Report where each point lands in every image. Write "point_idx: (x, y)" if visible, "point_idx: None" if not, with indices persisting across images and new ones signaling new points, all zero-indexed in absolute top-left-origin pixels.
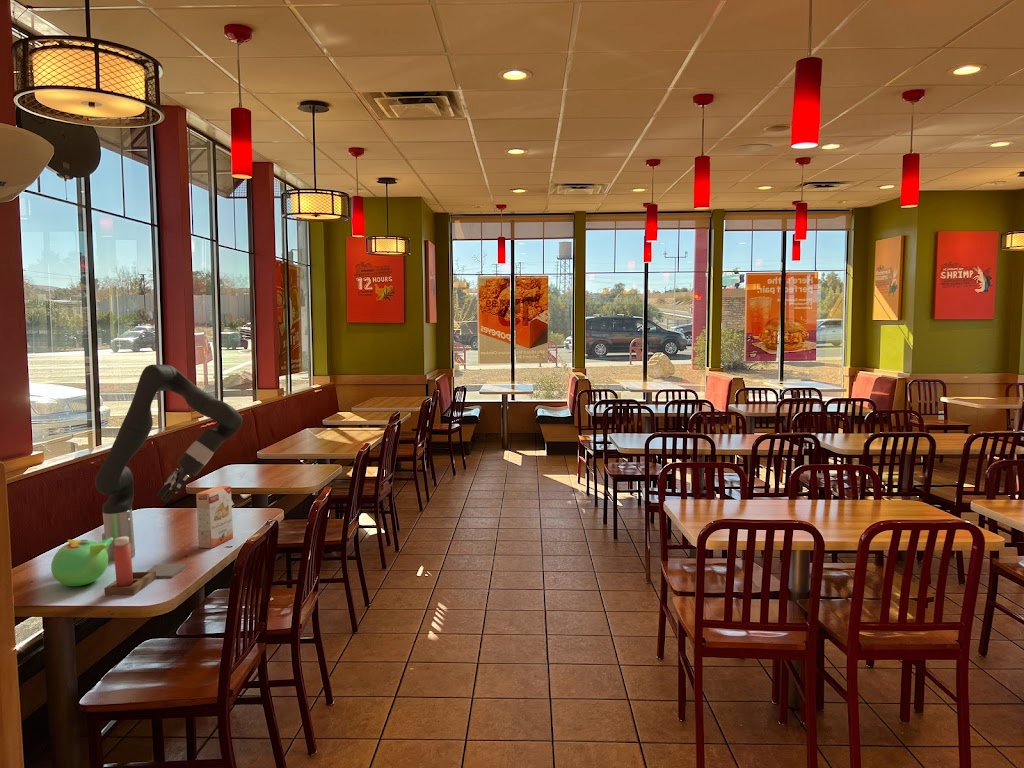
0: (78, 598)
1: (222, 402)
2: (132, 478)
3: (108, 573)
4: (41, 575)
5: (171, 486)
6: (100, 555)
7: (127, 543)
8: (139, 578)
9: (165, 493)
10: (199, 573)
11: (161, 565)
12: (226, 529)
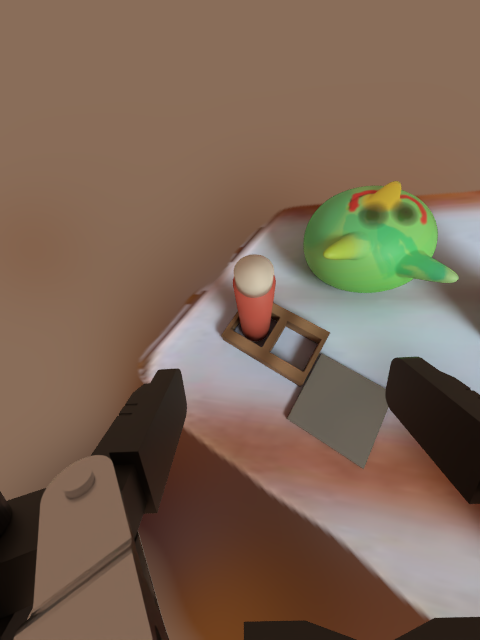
0: None
1: None
2: None
3: (391, 306)
4: (433, 215)
5: (71, 509)
6: (339, 263)
7: (240, 291)
8: (312, 354)
9: (159, 404)
10: (283, 486)
11: (383, 406)
12: None
